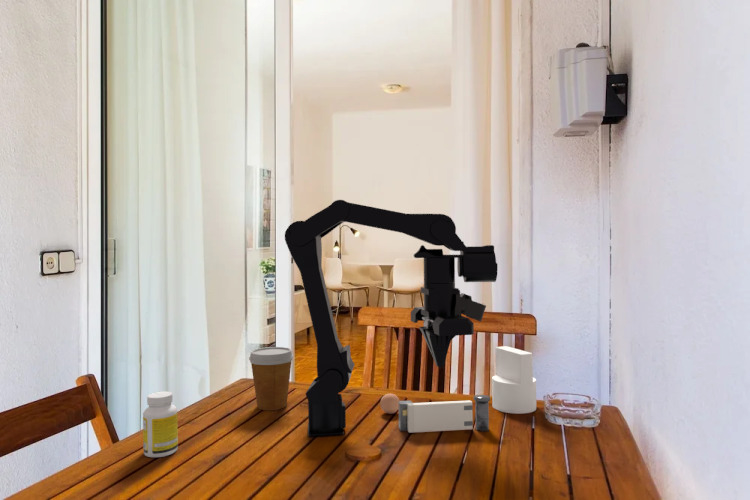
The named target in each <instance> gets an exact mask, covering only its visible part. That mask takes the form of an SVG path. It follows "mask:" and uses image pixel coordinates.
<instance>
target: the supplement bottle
mask: <svg viewBox="0 0 750 500" xmlns="http://www.w3.org/2000/svg"><path fill="white" fill-rule="evenodd" d="M173 398H174V395H173V392H171V391H157V392H152V393H150V394H148V395H147V396H146V403H147V406H148V407H146V408H145V409H144V410H143V412H142V428H143V429H142V433H143V434H142V436H143V444H142V445H143V455H144V456H145V457H148V458H162V457H168V456H169V455H170V456H171V455H172V454H174V453H175V452H176V451H177V450H178V449H179V448H178V447H179V444H178V443H179V440H178V438H179V437H178V436H179V434H178V429H179V428H178V409H177V407H176V405H174V404H172V403H173Z"/></svg>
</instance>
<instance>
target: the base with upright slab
mask: <svg viewBox="0 0 750 500" xmlns="http://www.w3.org/2000/svg"><path fill="white" fill-rule="evenodd" d="M533 356H534V353H533V352H530V351H526V350H522V349H519V348H515V347H512V346H508V345H502V346H496V347H495V374H494V375H493V376H492V377H491V384H492V387H491V390H492V395H491V396H492V405H491V406H492V408H493V409H494V410H497V411H498V412H502V413H506V414H507V413H508V414H517V415H518V414H530V413H533V412H535V411H536V410H537V379H536V377H534V374H533V372H534V371H533V369H534V367H533V365H534V364H533V361H534V360H533V359H534V358H533Z"/></svg>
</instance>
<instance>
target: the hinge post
mask: <svg viewBox="0 0 750 500" xmlns="http://www.w3.org/2000/svg"><path fill="white" fill-rule="evenodd" d="M473 401H475V411H474V412H475V430H476V431H477V432H478V431H479V432H489V429H490V426H489V424H490V423H489V422H490V417H489V415H490V413H489V411H490V410H489V402H491V397H490V396H489V395H487V394H476V395H473Z"/></svg>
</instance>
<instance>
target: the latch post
mask: <svg viewBox="0 0 750 500" xmlns="http://www.w3.org/2000/svg"><path fill="white" fill-rule="evenodd" d="M407 403H413V401H412V400H399V401H398V410H397V411H398V429H399V431H400V432H405V431H407V432H408V429H407Z"/></svg>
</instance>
